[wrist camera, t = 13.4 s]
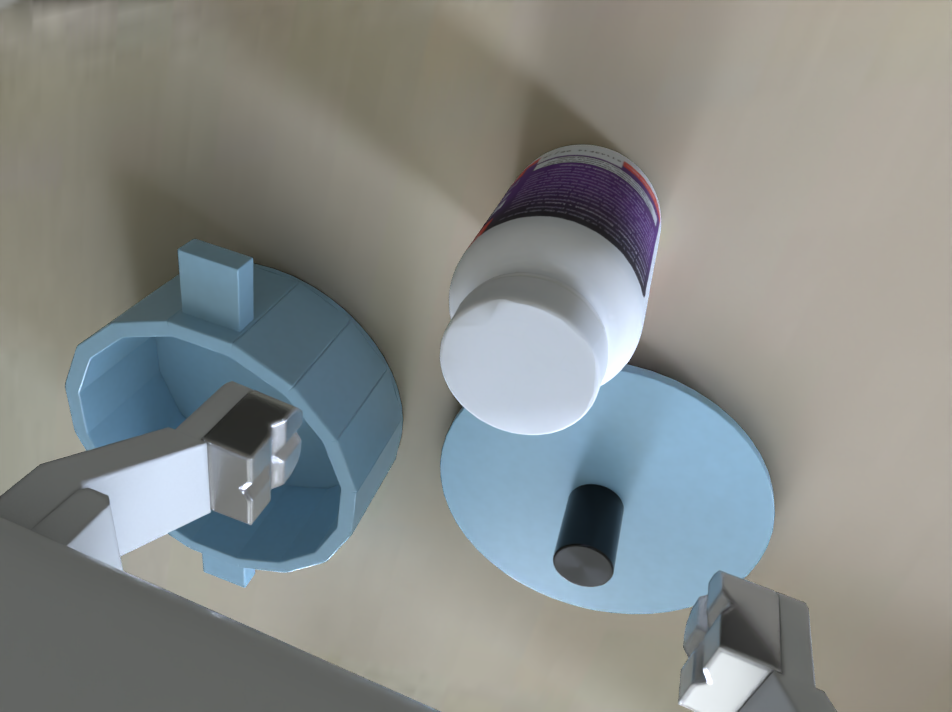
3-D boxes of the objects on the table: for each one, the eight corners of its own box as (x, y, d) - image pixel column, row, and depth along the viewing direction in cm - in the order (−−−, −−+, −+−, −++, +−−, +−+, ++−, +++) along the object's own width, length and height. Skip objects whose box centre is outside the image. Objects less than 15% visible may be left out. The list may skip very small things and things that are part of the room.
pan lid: (839, 421, 26) (858, 509, 22) (697, 633, 34) (694, 722, 31) (478, 305, 28) (440, 368, 24) (427, 533, 36) (393, 606, 32)
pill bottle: (503, 141, 24) (395, 264, 16) (666, 139, 22) (635, 273, 14) (513, 284, 27) (427, 446, 19) (659, 290, 25) (629, 471, 17)
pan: (431, 260, 27) (376, 328, 23) (381, 557, 38) (338, 640, 34) (128, 163, 29) (25, 211, 25) (164, 475, 40) (98, 544, 36)
